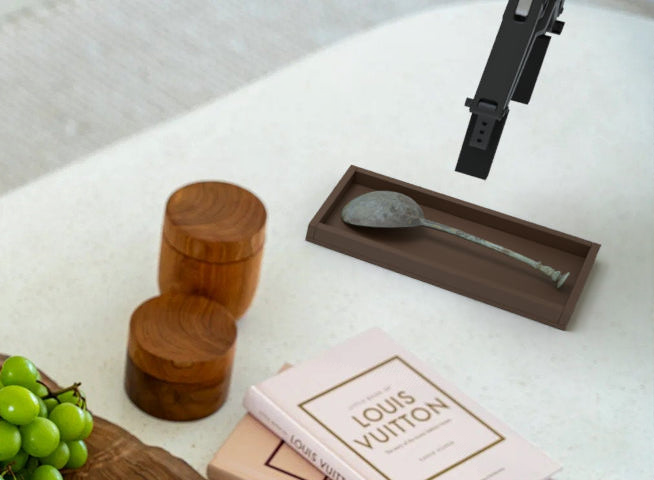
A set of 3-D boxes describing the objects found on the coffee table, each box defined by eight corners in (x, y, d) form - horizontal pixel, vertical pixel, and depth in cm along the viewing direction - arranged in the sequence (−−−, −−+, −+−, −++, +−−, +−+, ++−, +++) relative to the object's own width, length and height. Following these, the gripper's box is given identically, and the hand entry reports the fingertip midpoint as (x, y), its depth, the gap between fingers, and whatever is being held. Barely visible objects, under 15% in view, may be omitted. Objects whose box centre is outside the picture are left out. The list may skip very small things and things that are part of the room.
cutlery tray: (594, 260, 111) (601, 244, 109) (564, 331, 104) (572, 314, 102) (347, 180, 119) (351, 164, 118) (304, 240, 112) (308, 223, 111)
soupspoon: (356, 196, 118) (329, 231, 114) (361, 169, 115) (333, 204, 112) (574, 269, 109) (551, 309, 105) (584, 241, 106) (562, 282, 103)
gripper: (582, -28, 78) (496, 222, 94) (654, -152, 93) (570, 81, 108) (473, -52, 81) (407, 194, 96) (560, -170, 96) (490, 61, 111)
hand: (493, 135), depth 102 cm, fingers open, 13 cm apart
